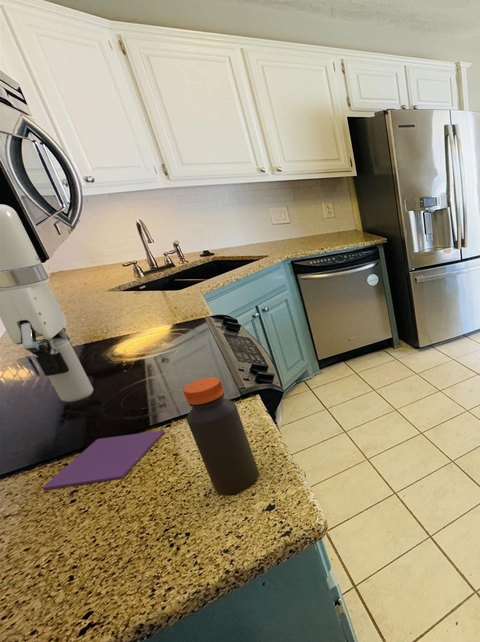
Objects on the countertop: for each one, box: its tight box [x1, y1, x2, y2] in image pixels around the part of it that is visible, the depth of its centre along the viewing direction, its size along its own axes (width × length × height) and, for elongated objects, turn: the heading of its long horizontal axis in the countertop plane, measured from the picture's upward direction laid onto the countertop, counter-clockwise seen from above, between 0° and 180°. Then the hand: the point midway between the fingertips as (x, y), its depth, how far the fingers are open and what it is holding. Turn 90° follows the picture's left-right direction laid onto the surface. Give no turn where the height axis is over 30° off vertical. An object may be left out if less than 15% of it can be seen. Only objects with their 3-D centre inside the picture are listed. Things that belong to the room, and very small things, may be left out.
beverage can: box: [39, 338, 94, 403], centre depth 80 cm, size 5×5×12 cm
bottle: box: [182, 377, 260, 496], centre depth 69 cm, size 7×7×20 cm
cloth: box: [42, 430, 165, 491], centre depth 79 cm, size 12×14×1 cm
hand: (62, 366), depth 79 cm, fingers closed on beverage can, 4 cm apart
